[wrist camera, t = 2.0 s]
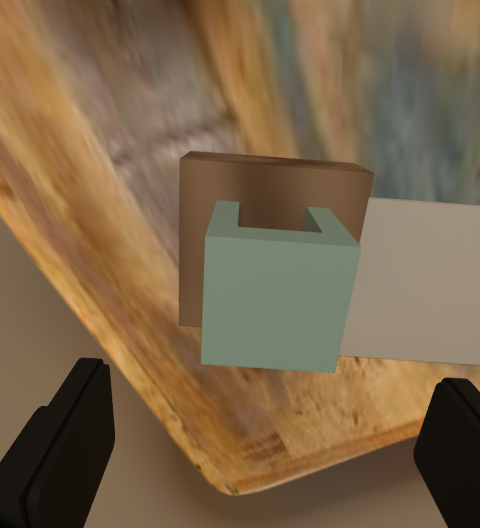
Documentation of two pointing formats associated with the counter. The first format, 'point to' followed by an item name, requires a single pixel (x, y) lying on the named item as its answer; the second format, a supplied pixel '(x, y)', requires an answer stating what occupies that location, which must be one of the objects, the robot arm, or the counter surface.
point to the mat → (417, 283)
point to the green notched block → (276, 292)
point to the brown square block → (258, 204)
